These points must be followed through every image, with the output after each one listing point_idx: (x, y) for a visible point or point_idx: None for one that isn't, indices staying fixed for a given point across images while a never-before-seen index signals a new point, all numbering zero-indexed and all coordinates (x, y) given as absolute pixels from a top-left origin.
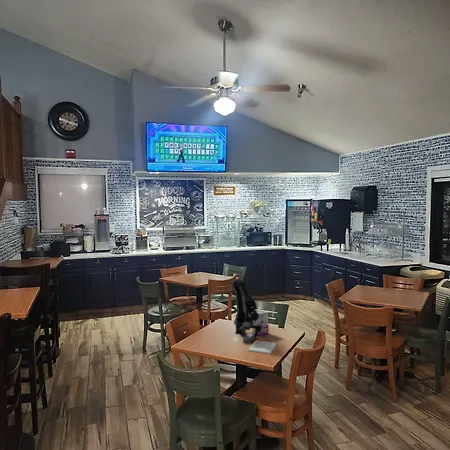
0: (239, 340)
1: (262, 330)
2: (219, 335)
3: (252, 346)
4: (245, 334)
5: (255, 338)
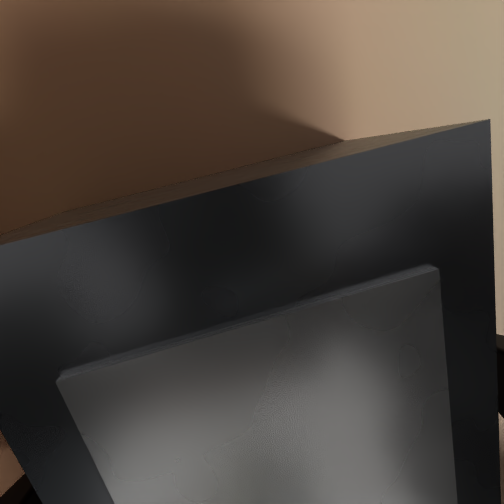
0: None
1: None
2: None
3: None
4: (490, 468)
5: (14, 488)
